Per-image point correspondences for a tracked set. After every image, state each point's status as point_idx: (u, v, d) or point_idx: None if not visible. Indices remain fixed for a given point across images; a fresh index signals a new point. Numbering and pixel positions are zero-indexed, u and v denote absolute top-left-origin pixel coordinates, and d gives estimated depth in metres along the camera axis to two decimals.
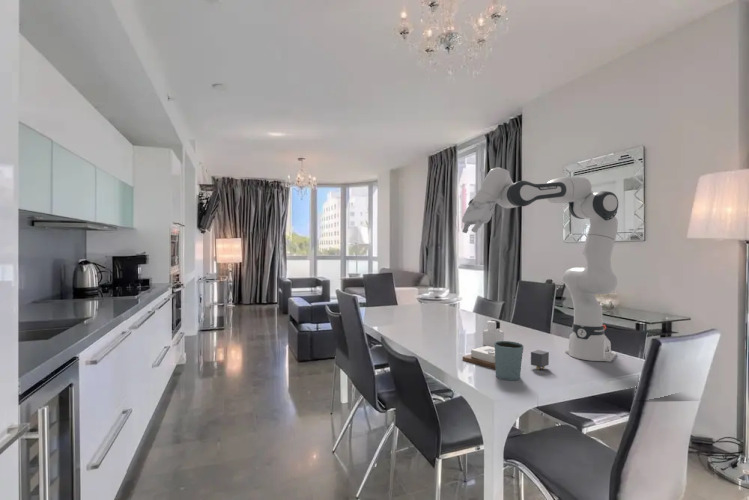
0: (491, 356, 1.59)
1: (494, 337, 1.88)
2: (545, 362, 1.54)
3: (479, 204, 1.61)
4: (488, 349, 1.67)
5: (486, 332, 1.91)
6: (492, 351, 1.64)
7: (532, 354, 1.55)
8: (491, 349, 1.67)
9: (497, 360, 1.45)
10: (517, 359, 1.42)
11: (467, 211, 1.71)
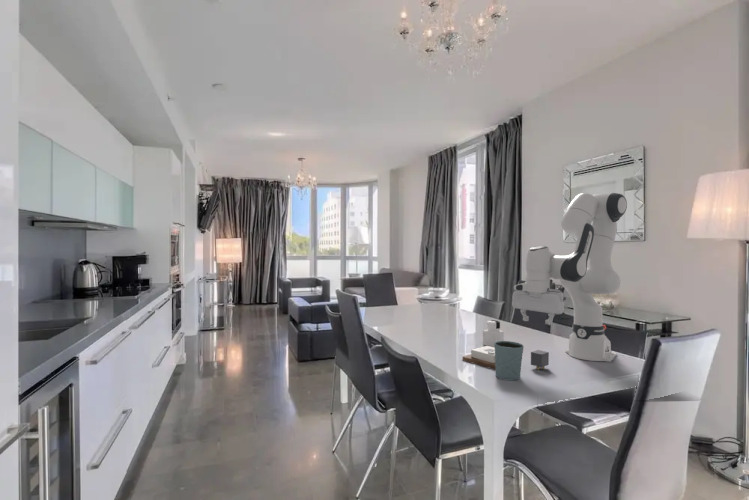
0: (491, 356, 1.59)
1: (494, 337, 1.88)
2: (545, 362, 1.54)
3: (539, 294, 1.52)
4: (488, 349, 1.67)
5: (486, 332, 1.91)
6: (492, 351, 1.64)
7: (532, 354, 1.55)
8: (491, 349, 1.67)
9: (497, 360, 1.45)
10: (517, 359, 1.42)
11: (516, 296, 1.61)
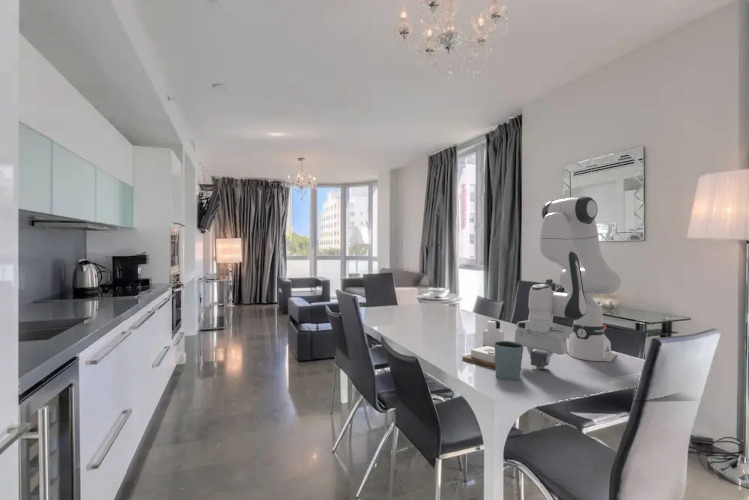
0: (491, 356, 1.59)
1: (494, 337, 1.88)
2: None
3: (542, 333, 1.53)
4: (488, 349, 1.67)
5: (486, 332, 1.91)
6: (492, 351, 1.64)
7: (532, 354, 1.55)
8: (491, 349, 1.67)
9: (497, 360, 1.45)
10: (517, 359, 1.42)
11: (519, 334, 1.61)
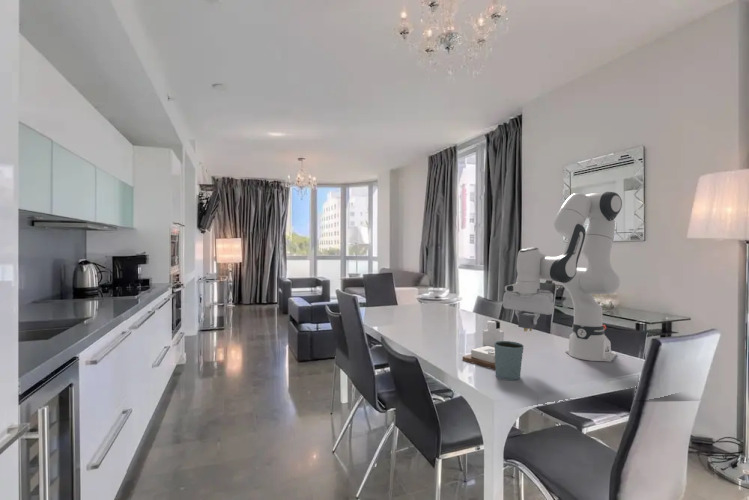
0: (491, 356, 1.59)
1: (494, 337, 1.88)
2: (532, 324, 1.56)
3: (530, 294, 1.55)
4: (488, 349, 1.67)
5: (486, 332, 1.91)
6: (492, 351, 1.64)
7: (520, 316, 1.57)
8: (491, 349, 1.67)
9: (497, 360, 1.45)
10: (517, 359, 1.42)
11: (507, 297, 1.63)
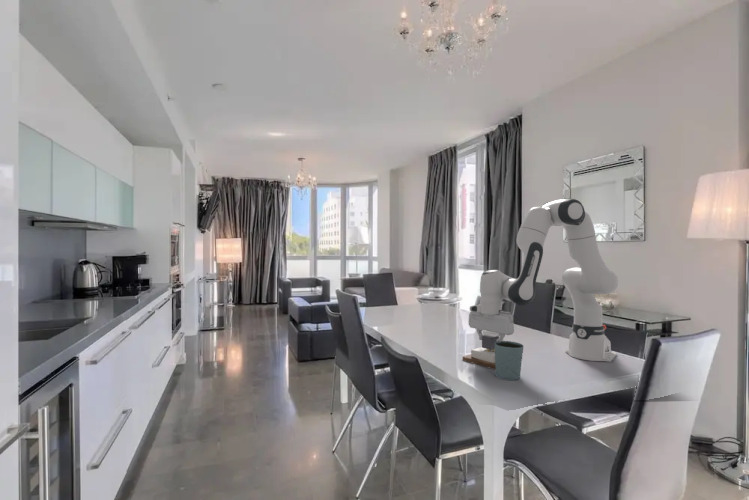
0: (491, 356, 1.59)
1: None
2: None
3: (492, 315, 1.62)
4: None
5: (486, 332, 1.91)
6: None
7: (483, 337, 1.65)
8: (491, 350, 1.67)
9: (497, 360, 1.45)
10: (517, 359, 1.42)
11: (472, 317, 1.70)
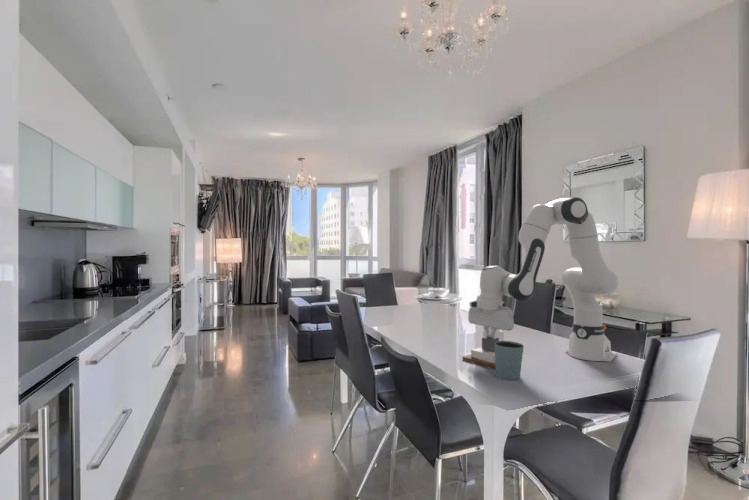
0: (491, 356, 1.59)
1: None
2: None
3: (491, 311, 1.62)
4: None
5: None
6: None
7: (483, 339, 1.65)
8: None
9: (497, 360, 1.45)
10: (517, 359, 1.42)
11: (472, 312, 1.70)
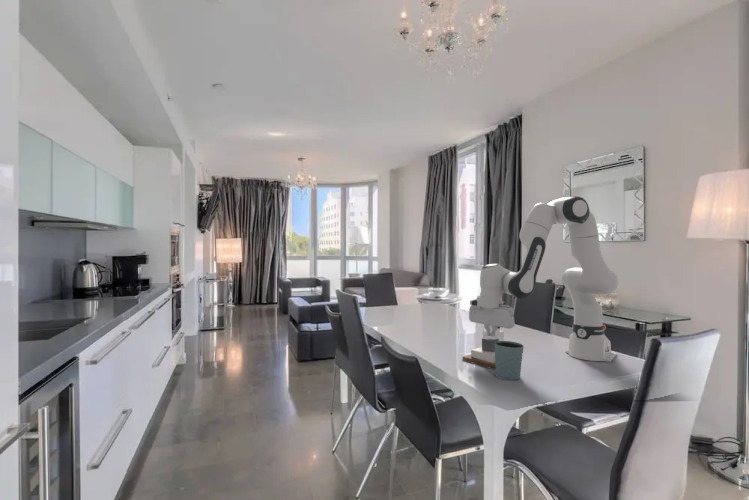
0: (491, 356, 1.59)
1: (494, 337, 1.88)
2: None
3: (492, 309, 1.62)
4: None
5: (486, 332, 1.91)
6: None
7: (483, 340, 1.65)
8: None
9: (497, 360, 1.45)
10: (517, 359, 1.42)
11: (472, 311, 1.70)
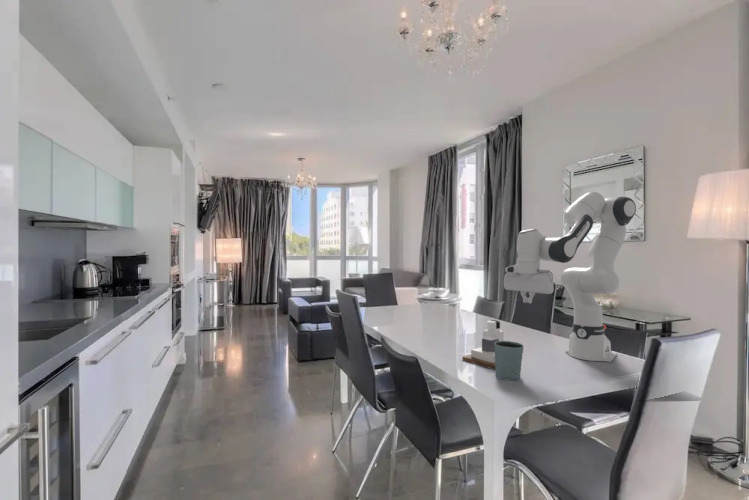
0: (491, 356, 1.59)
1: (494, 337, 1.88)
2: None
3: (530, 275, 1.58)
4: None
5: (486, 332, 1.91)
6: None
7: (483, 340, 1.65)
8: None
9: (497, 360, 1.45)
10: (517, 359, 1.42)
11: (508, 278, 1.66)
